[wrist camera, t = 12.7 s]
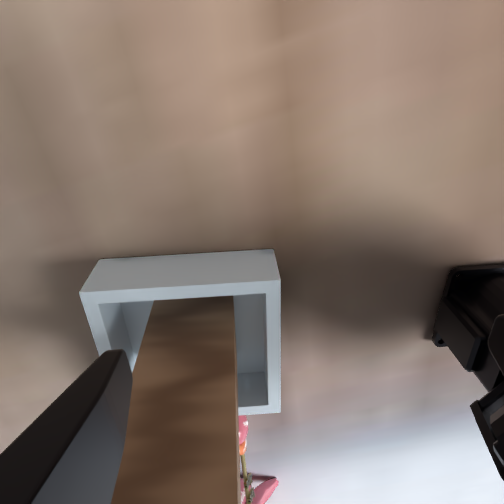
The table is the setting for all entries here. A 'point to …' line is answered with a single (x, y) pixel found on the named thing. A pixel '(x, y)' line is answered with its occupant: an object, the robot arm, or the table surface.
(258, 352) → the bin
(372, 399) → the table surface
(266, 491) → the anatomy model
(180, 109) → the table surface
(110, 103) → the table surface
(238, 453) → the walnut block
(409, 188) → the table surface
